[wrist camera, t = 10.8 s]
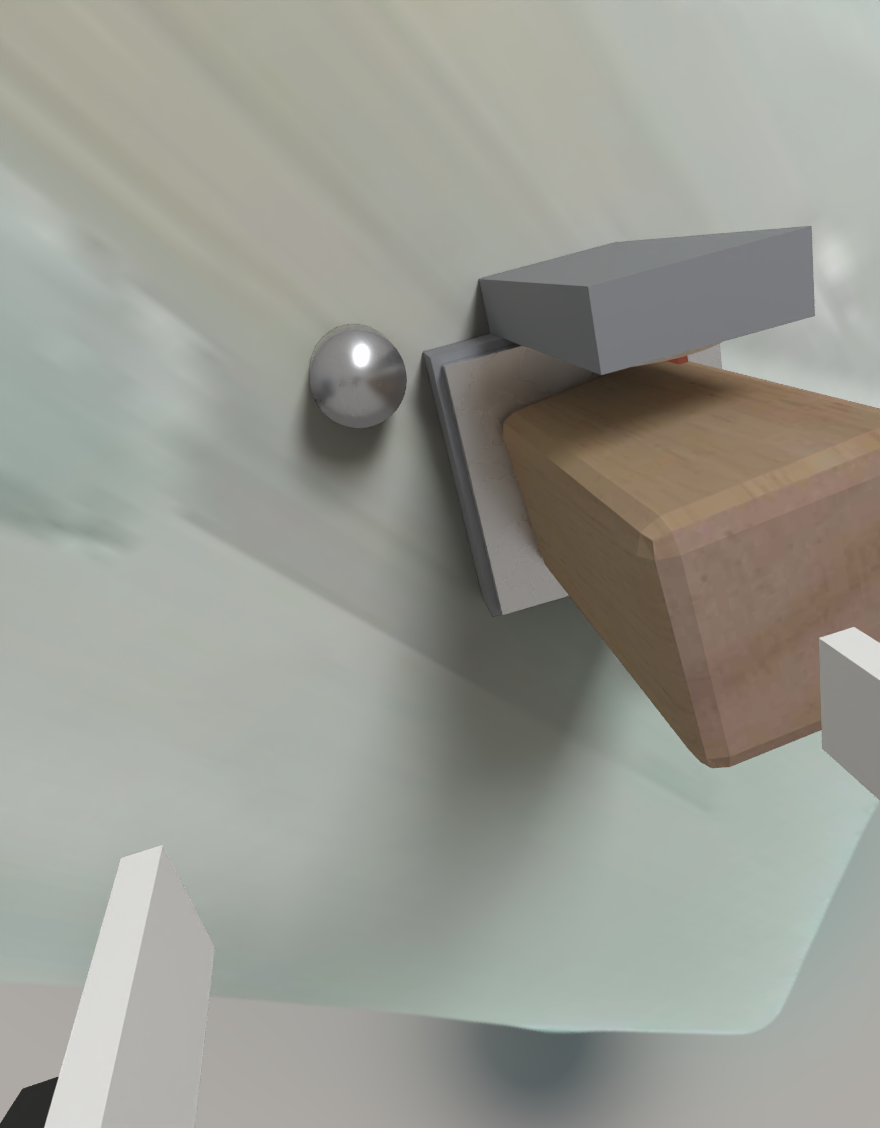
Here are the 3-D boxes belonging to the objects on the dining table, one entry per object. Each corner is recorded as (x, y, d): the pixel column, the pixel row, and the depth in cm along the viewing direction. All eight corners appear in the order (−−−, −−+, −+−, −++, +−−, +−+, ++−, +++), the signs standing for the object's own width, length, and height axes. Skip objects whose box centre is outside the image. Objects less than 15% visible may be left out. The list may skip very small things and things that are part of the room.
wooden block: (701, 510, 44) (974, 681, 26) (544, 572, 44) (708, 789, 26) (664, 346, 40) (956, 412, 22) (492, 415, 40) (642, 538, 22)
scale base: (482, 597, 49) (569, 766, 32) (409, 297, 41) (473, 317, 25) (713, 530, 50) (913, 661, 33) (682, 224, 42) (920, 196, 26)
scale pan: (489, 590, 48) (502, 615, 45) (433, 358, 42) (444, 366, 39) (707, 526, 49) (737, 546, 46) (682, 290, 43) (715, 292, 40)
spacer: (324, 424, 43) (325, 439, 40) (298, 337, 41) (296, 343, 38) (408, 401, 43) (416, 413, 40) (385, 313, 42) (392, 318, 38)
